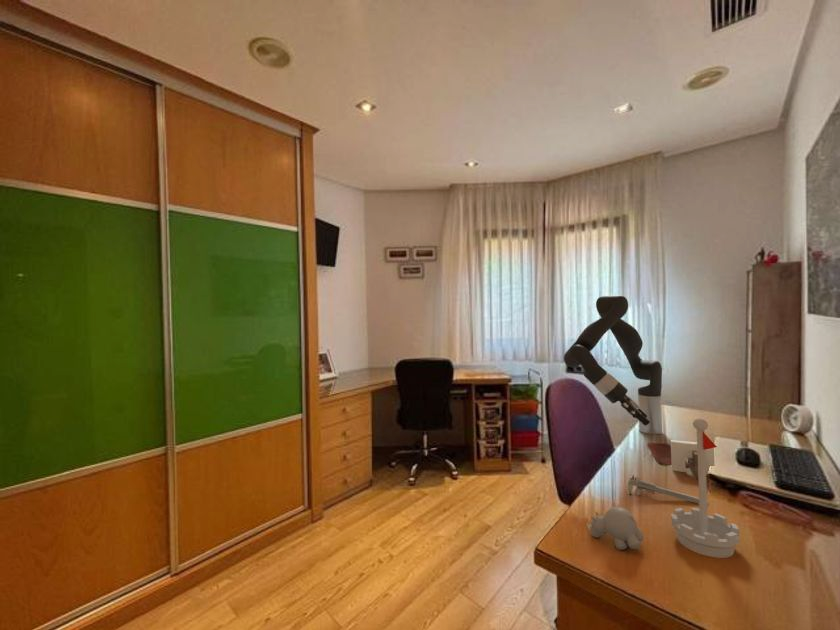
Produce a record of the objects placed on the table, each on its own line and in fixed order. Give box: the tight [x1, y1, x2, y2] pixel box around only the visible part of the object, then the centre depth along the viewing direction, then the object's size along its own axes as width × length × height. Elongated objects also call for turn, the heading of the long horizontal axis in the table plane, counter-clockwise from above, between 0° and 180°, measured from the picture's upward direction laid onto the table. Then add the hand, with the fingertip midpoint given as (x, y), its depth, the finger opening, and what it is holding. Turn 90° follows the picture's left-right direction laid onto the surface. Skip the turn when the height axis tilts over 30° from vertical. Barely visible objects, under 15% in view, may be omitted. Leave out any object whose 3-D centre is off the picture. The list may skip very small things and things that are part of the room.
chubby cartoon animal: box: [586, 506, 644, 551], centre depth 93 cm, size 7×12×8 cm, turn 46°
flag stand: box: [670, 417, 740, 559], centre depth 91 cm, size 13×13×30 cm
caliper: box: [627, 474, 710, 506], centre depth 113 cm, size 20×1×6 cm, turn 69°
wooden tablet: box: [646, 442, 690, 469], centre depth 149 cm, size 27×10×2 cm, turn 159°
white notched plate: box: [670, 439, 715, 476], centre depth 132 cm, size 2×12×10 cm, turn 64°
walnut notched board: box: [687, 451, 698, 479], centre depth 131 cm, size 12×2×8 cm, turn 154°
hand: (646, 420), depth 137 cm, fingers open, 8 cm apart
